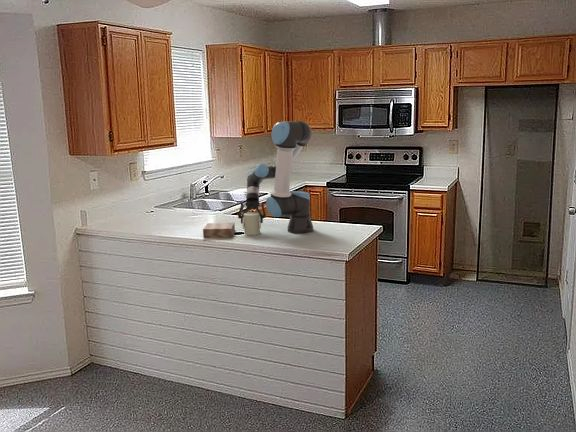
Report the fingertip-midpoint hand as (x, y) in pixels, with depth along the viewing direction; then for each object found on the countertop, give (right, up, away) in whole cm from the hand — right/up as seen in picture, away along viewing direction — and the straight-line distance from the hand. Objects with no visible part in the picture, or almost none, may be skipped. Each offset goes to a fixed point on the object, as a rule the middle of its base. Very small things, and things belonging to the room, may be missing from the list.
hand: (251, 227), depth 323 cm
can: (0, -3, +4) cm, 5 cm away
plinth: (-19, -4, +4) cm, 20 cm away
